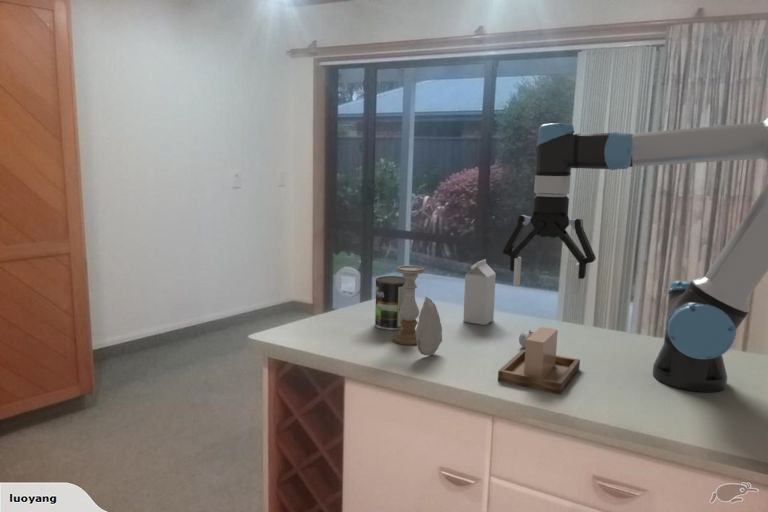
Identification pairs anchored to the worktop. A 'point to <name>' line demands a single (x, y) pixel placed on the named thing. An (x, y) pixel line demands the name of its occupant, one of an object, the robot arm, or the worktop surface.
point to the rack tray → (551, 383)
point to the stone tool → (428, 329)
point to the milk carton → (479, 294)
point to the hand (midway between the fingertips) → (545, 289)
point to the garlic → (524, 337)
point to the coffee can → (389, 302)
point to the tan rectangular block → (540, 352)
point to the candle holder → (408, 306)
